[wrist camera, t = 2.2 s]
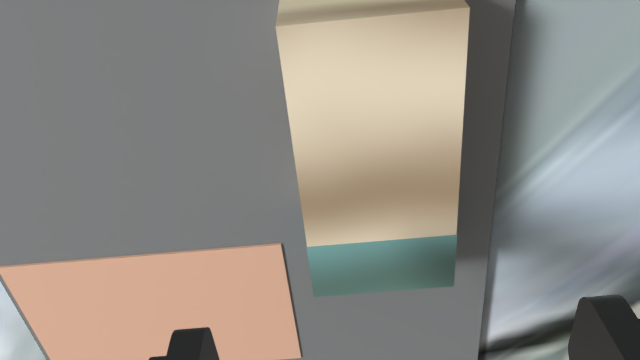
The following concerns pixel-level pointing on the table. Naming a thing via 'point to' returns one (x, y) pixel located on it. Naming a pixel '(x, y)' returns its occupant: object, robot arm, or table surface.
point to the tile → (376, 137)
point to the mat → (202, 188)
